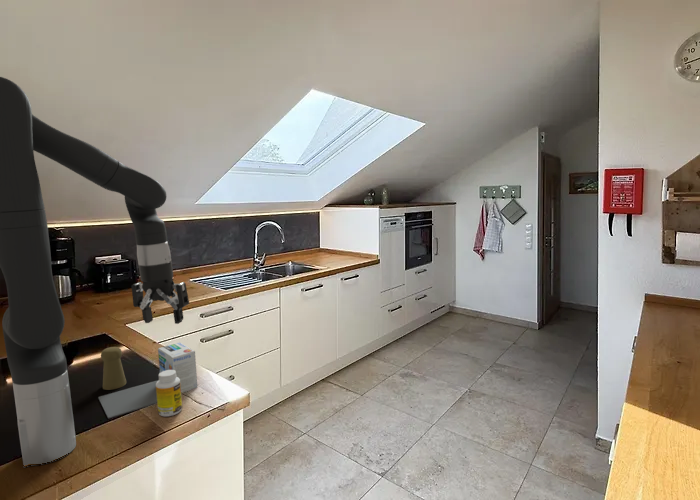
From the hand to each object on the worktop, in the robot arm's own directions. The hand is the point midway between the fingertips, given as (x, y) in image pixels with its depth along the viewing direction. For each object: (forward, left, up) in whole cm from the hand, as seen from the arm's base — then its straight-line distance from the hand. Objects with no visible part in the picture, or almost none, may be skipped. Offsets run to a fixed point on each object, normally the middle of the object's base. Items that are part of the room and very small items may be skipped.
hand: (163, 322), depth 107 cm
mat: (-7, +8, -21) cm, 24 cm away
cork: (-9, +21, -22) cm, 31 cm away
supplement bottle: (-2, -6, -22) cm, 22 cm away
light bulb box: (+5, +8, -22) cm, 23 cm away
